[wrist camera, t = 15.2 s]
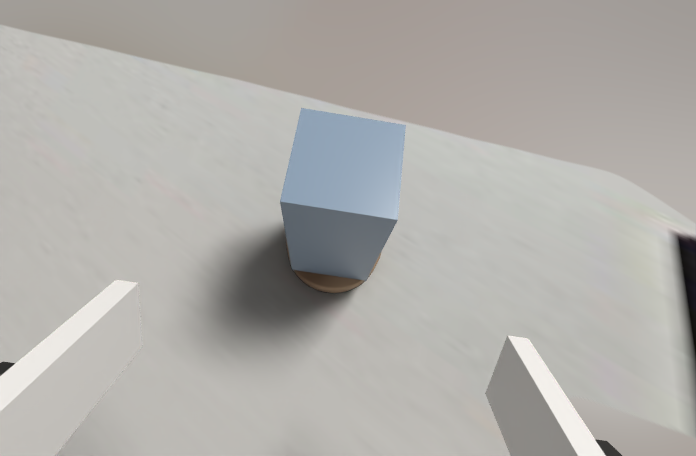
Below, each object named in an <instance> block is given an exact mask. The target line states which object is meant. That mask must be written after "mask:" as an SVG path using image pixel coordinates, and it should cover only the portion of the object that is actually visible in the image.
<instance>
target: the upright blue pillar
mask: <svg viewBox="0 0 696 456" xmlns="http://www.w3.org/2000/svg"><path fill="white" fill-rule="evenodd" d="M405 127H406V125H401V124H395V123H389V122H383V121H377V120H371V119H365V118H359V117H353V116H347V115H341V114H335V113H328V112H322V111H316V110H310V109H304V108H301V112H300V116H299V121H298V125H297V130H296V134H295V138H294V143H293V147H292V151H291V156H290V160H289V165H288V169H287V173H286V178H285V182H284V187H283V191H282V195H281V200H280V204H281V210H282V215H283V221H284V227H285V233H286V238H287V244H288V250H289V256H290V262H291V267H292V270H298V271H304V272H311V273H318V274H324V275H331V276H338V277H344V278H351V279H357V280H364V281H366V280H367V278H368V276H369V274H370V272H371V270H372V268H373V267H374V265H375V263H376V261H377V259H378V257H379V255H380V253H381V251H382V249H383V247H384V245H385V243H386V241H387V240H388V238H389V236H390V234H391V232H392V230H393V228H394V226H395V224H396V222H397V220H398V210H399V198H400V186H401V174H402V163H403V151H404V139H405Z"/></svg>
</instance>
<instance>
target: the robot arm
mask: <svg viewBox="0 0 696 456" xmlns="http://www.w3.org/2000/svg"><path fill="white" fill-rule="evenodd" d="M142 347H143V345H142V330H141V315H140V299H139V284H138V283H135V282H128V281H121V280H115V281H114V282H113V283H112V284H110V285H109V286H108V287H107V288H106V289H104V290H103V291H102V292H101V293H100V294H98V295H97V296H96V297H95V298H94V299H92V300H91V301H90V302H89V303H88V304H86V305H85V306H84V307H83V308H82V309H80V310H79V311H78V312H77V313H76V314H74V315H73V316H72V317H71V318H70V319H68V320H67V321H66V322H65V323H64V324H62V325H61V326H60V327H59V328H58V329H56V330H55V331H54V332H53V333H52V334H50V335H49V336H48V337H47V338H46V339H44V340H43V341H42V342H41V343H40V344H38V345H37V346H36V347H35V348H34V349H32V350H31V351H30V352H29V353H28V354H26V355H25V356H24V357H23V358H22V359H20V360H19V361H18V362H17V363H9V362H1V363H0V456H55V455H56V454H57V453H58V452H59V450H60V449H61V448H62V447H63V445H64V444H65V443H66V442H67V440H68V439H69V438H70V437H71V435H72V434H73V433H74V432H75V430H76V429H77V428H78V427H79V425H80V424H81V423H82V422H83V420H84V419H85V418H86V417H87V415H88V414H89V413H90V412H91V410H92V409H93V408H94V407H95V405H96V404H97V403H98V402H99V400H100V399H101V398H102V397H103V395H104V394H105V393H106V392H107V390H108V389H109V388H110V387H111V385H112V384H113V383H114V382H115V380H116V379H117V378H118V377H119V375H120V374H121V373H122V372H123V370H124V369H125V368H126V367H127V366H128V364H129V363H130V362H131V361H132V359H133V358H134V357H135V356H136V354H137V353H138V352H139V351H140V349H141V348H142ZM485 394H486V396H487V399H488V401H489V403H490V406H491V408H492V411H493V413H494V416H495V418H496V421H497V423H498V425H499V428H500V430H501V433H502V435H503V438H504V440H505V443H506V445H507V448H508V450H509V452H510V455H511V456H622V455H621V454H620V453H619V452H618V451H617V450H616V449H615V448H614V447H613V446H612V445H610V444H609V443H608V442H607V441H602V440H595V439H594V438H593V436H592V435H591V433H590V431H589V430H588V428H587V427H586V425H585V424H584V422H583V421H582V419H581V418H580V416H579V415H578V413H577V412H576V410H575V409H574V407H573V405H572V404H571V403H570V401H569V399H568V398H567V396H566V395H565V393H564V392H563V390H562V389H561V387H560V386H559V384H558V383H557V381H556V380H555V378H554V377H553V375H552V374H551V372H550V371H549V369H548V368H547V366H546V365H545V363H544V362H543V360H542V359H541V357H540V356H539V354H538V352H537V351H536V349H535V348H534V346H533V345H532V343H531V342H530V340H529V339H528V338H521V337H514V336H507V338H506V341H505V343H504V346H503V349H502V351H501V354H500V356H499V359H498V362H497V364H496V367H495V370H494V372H493V375H492V377H491V380H490V383H489V385H488V388H487V391H486V393H485Z"/></svg>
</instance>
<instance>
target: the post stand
mask: <svg viewBox="0 0 696 456" xmlns="http://www.w3.org/2000/svg"><path fill="white" fill-rule="evenodd" d="M286 246H287V252H288V258H289V261H290V256H289V250H288V244H287V238H286ZM380 255H381V253H380ZM380 255H379V257H378V259H377V261H376V263H375V265H374V267H373V268H372V270H371V272H370V274H369V276H370V275H371V273H372V272H373V270H374V268H375V266H376V264H377V262H378V260H379V258H380ZM290 264H291V262H290ZM294 272H295V273H296V275H297V276H298V277H299V278H300V279H301V280H302V281H303V282H304V283H305V284H307V285H308V286H310V287H312V288H314V289H316V290H319V291H323V292H328V293H340V292H345V291H348V290H351V289H353V288H356V287H357V286H359V285H360V284H362V283H363V282H364V280H357V279H351V278H344V277H338V276H331V275H324V274H318V273H311V272H304V271H298V270H294ZM369 276H368V277H369Z"/></svg>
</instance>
